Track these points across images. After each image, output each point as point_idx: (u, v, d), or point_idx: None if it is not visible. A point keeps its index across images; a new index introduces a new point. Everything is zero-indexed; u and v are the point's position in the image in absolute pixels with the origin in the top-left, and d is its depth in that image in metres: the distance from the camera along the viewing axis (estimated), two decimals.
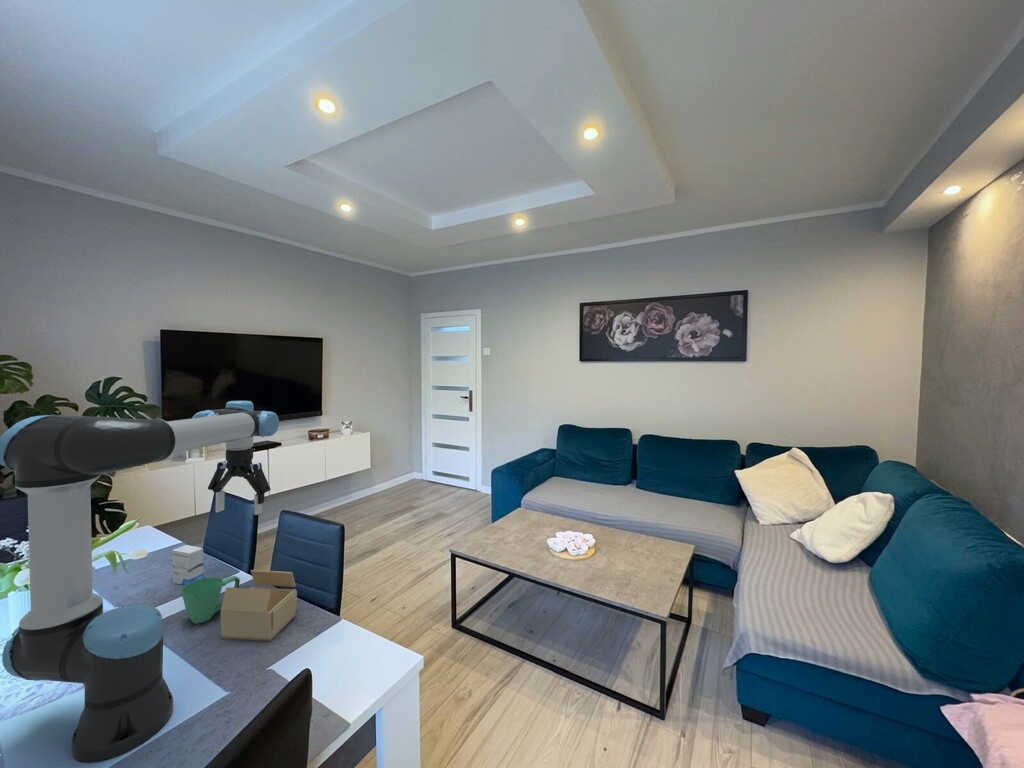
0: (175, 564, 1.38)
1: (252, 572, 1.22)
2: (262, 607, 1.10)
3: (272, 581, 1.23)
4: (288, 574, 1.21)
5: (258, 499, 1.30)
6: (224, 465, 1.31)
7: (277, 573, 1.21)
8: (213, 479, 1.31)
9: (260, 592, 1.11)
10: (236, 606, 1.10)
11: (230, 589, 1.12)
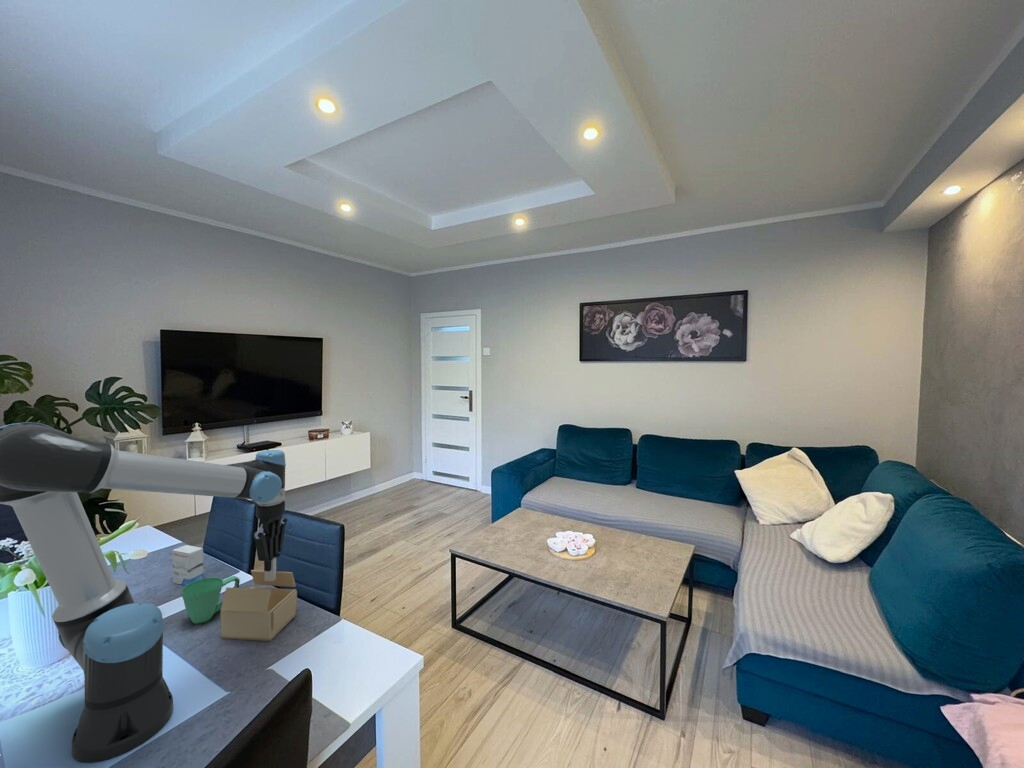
0: (175, 564, 1.38)
1: (252, 572, 1.22)
2: (262, 607, 1.10)
3: (272, 581, 1.23)
4: (288, 574, 1.21)
5: None
6: None
7: (277, 573, 1.21)
8: None
9: (260, 592, 1.11)
10: (236, 606, 1.10)
11: (230, 589, 1.12)
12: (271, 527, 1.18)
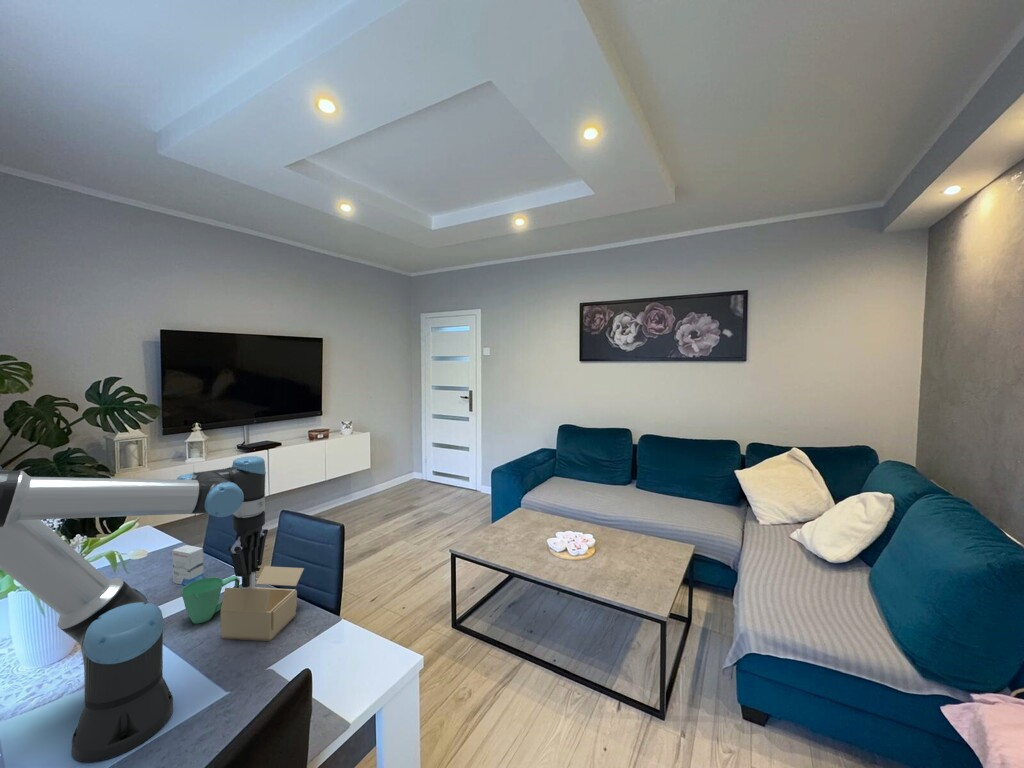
0: (175, 564, 1.38)
1: (265, 567, 1.28)
2: (262, 607, 1.10)
3: (276, 579, 1.25)
4: (300, 570, 1.27)
5: None
6: None
7: (289, 568, 1.27)
8: None
9: (259, 592, 1.11)
10: (236, 606, 1.10)
11: (229, 589, 1.11)
12: (249, 540, 1.10)
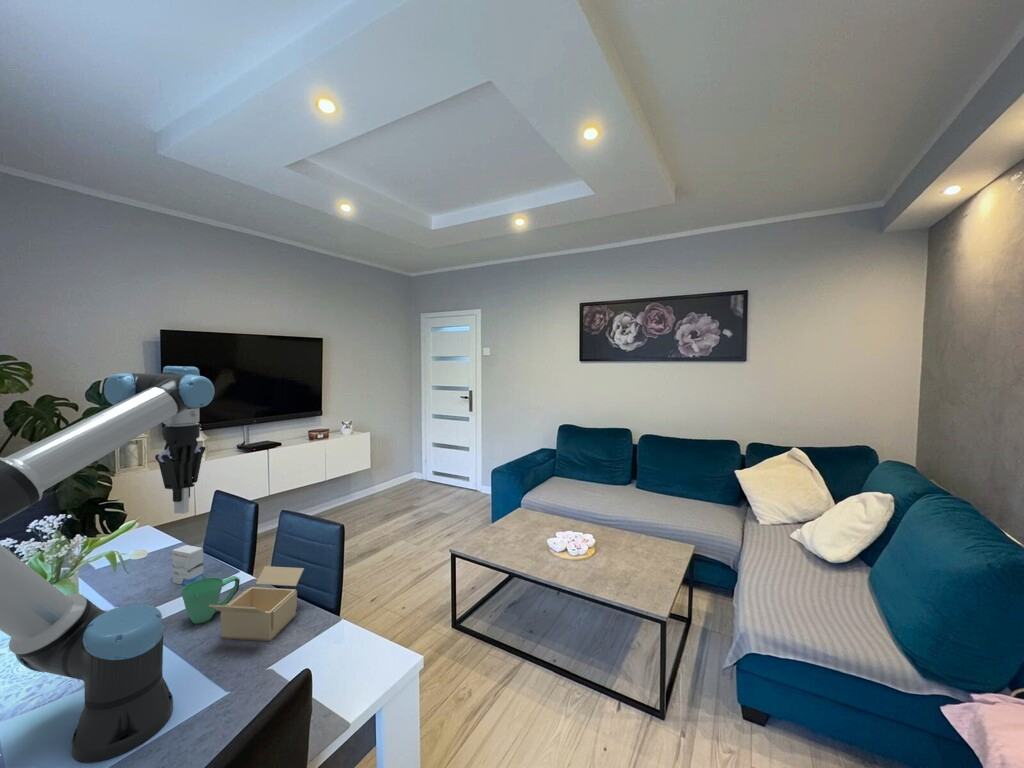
0: (175, 564, 1.38)
1: (265, 567, 1.28)
2: (258, 612, 1.08)
3: (276, 579, 1.25)
4: (300, 570, 1.27)
5: None
6: None
7: (289, 568, 1.27)
8: None
9: (246, 608, 1.06)
10: (232, 610, 1.09)
11: (214, 606, 1.06)
12: (181, 451, 1.04)
